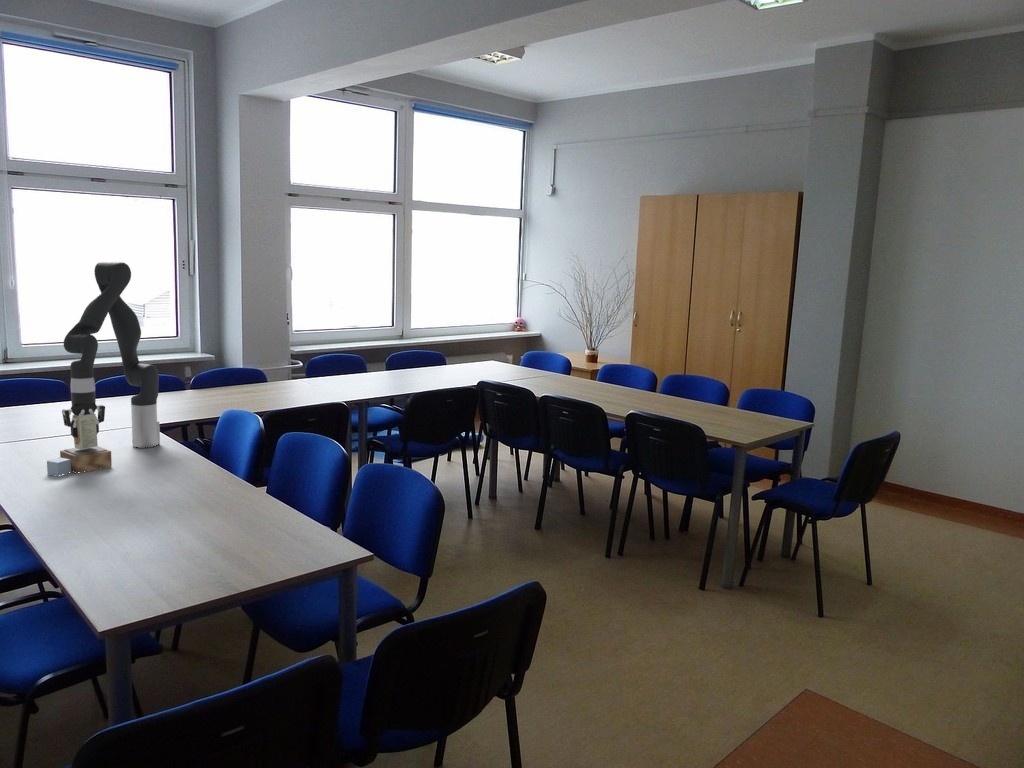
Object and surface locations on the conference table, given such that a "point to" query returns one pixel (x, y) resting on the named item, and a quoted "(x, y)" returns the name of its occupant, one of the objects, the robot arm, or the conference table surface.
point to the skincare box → (86, 431)
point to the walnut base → (87, 458)
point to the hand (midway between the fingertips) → (85, 435)
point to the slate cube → (58, 466)
